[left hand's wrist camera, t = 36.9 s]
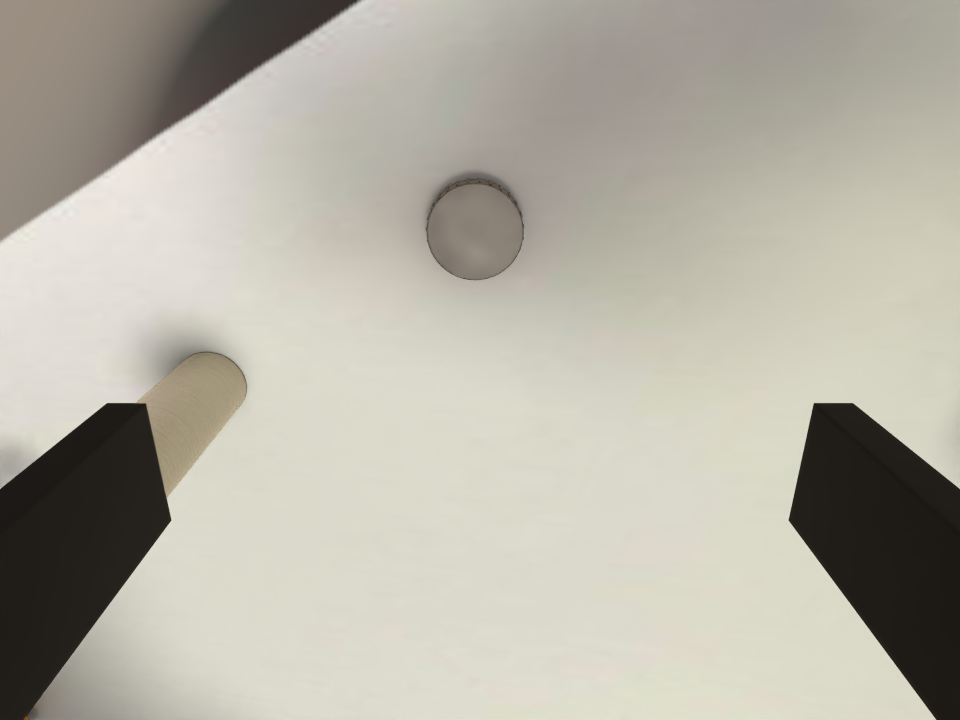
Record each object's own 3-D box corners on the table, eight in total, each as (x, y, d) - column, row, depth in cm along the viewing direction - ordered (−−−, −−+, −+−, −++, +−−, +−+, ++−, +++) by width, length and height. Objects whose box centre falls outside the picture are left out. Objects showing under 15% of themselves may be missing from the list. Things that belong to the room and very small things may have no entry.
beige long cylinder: (208, 426, 42) (63, 598, 28) (162, 373, 41) (-16, 525, 26) (261, 394, 41) (140, 554, 27) (215, 339, 40) (62, 476, 25)
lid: (531, 259, 38) (534, 268, 36) (443, 282, 39) (440, 292, 37) (509, 166, 36) (511, 170, 34) (416, 191, 37) (412, 197, 35)
